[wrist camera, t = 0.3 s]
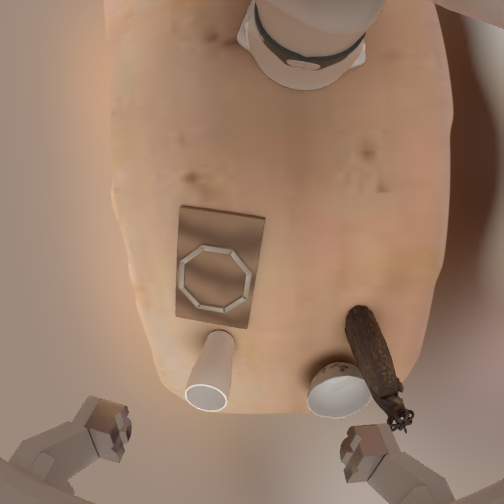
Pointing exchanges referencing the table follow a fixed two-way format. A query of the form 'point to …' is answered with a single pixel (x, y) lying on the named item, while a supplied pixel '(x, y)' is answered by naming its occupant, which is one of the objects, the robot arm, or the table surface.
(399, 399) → the statue
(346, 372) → the teacup
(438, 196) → the table surface
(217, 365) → the drinking glass
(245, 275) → the walnut board
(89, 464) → the robot arm
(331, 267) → the table surface
